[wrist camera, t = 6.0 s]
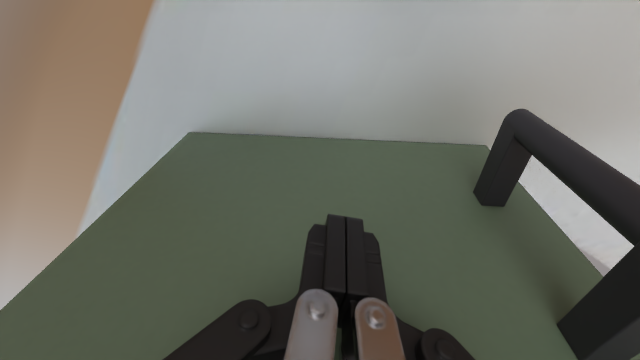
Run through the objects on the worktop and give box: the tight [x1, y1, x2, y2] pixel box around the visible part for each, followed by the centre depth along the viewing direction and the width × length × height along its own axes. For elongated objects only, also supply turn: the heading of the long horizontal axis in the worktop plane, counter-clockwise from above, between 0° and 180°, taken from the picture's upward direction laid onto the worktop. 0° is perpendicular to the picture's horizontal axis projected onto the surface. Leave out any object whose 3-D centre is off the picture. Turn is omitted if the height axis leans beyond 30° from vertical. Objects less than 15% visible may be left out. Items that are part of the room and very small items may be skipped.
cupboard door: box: [0, 109, 640, 360], centre depth 13 cm, size 7×26×24 cm, turn 89°
